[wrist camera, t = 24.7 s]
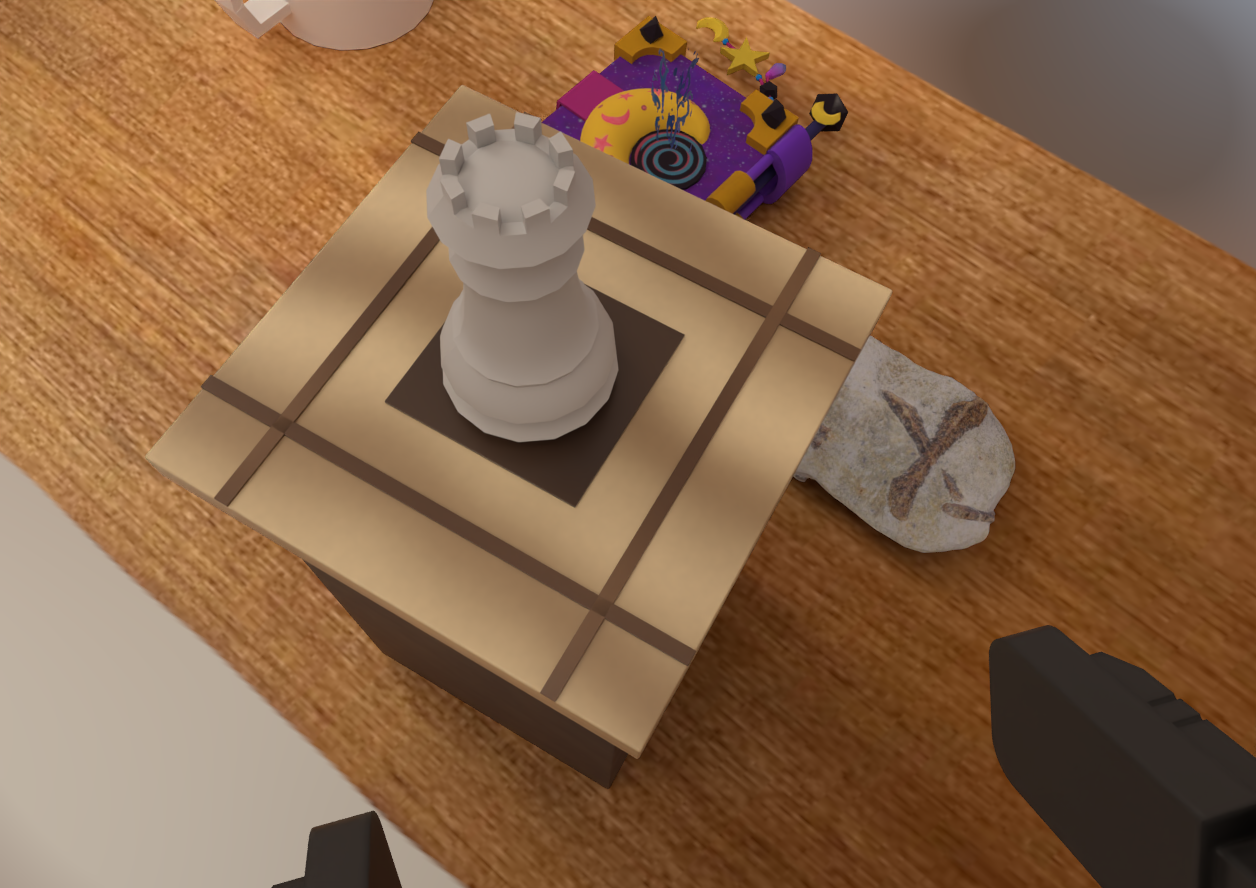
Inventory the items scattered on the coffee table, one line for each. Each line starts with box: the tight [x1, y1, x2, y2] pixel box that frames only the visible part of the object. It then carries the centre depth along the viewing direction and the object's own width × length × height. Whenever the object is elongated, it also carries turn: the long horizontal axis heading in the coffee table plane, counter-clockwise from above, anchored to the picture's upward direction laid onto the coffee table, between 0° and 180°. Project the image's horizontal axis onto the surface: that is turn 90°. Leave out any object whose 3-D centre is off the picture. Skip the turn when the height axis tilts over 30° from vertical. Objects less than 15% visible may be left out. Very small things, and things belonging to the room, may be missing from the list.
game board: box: [145, 85, 892, 759], centre depth 27 cm, size 14×14×1 cm
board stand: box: [304, 560, 628, 789], centre depth 37 cm, size 12×12×22 cm
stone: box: [793, 336, 1015, 553], centre depth 49 cm, size 12×9×3 cm
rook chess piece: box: [426, 112, 618, 442], centre depth 22 cm, size 4×4×8 cm
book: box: [542, 16, 848, 220], centre depth 51 cm, size 15×25×12 cm, turn 139°
